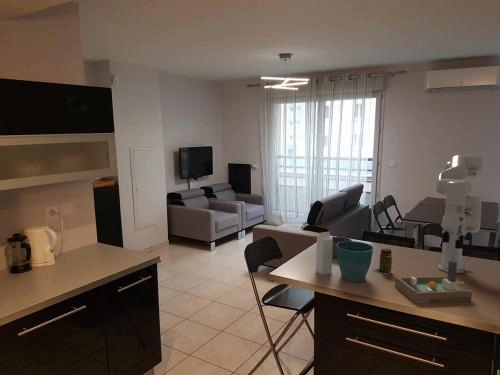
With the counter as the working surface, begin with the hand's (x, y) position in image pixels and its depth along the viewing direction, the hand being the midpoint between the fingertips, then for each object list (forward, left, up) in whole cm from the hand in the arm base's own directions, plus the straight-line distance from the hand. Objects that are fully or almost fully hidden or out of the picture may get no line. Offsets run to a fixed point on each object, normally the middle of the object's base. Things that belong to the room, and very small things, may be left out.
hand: (451, 245), depth 166 cm
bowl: (+34, -56, -23) cm, 70 cm away
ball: (+8, +1, -19) cm, 20 cm away
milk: (+51, -29, -23) cm, 63 cm away
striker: (-2, +1, -20) cm, 20 cm away
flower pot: (+38, -20, -23) cm, 49 cm away
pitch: (+9, +1, -23) cm, 24 cm away
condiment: (+18, -28, -23) cm, 41 cm away
